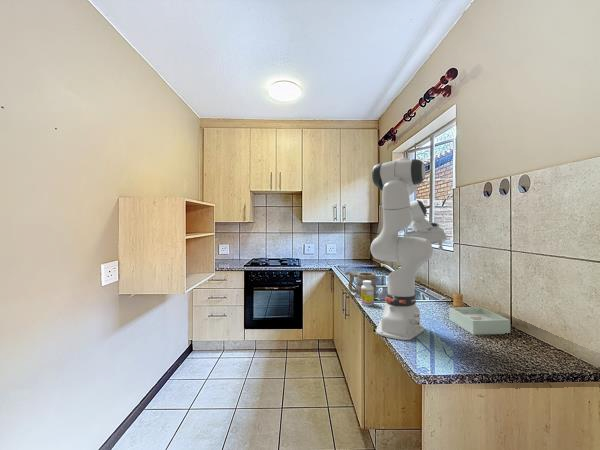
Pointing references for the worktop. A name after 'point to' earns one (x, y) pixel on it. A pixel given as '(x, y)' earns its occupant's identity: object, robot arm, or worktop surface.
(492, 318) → the bore box
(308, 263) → the worktop surface
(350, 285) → the tankard
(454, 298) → the peg
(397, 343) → the worktop surface
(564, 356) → the worktop surface
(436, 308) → the worktop surface
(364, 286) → the supplement bottle
